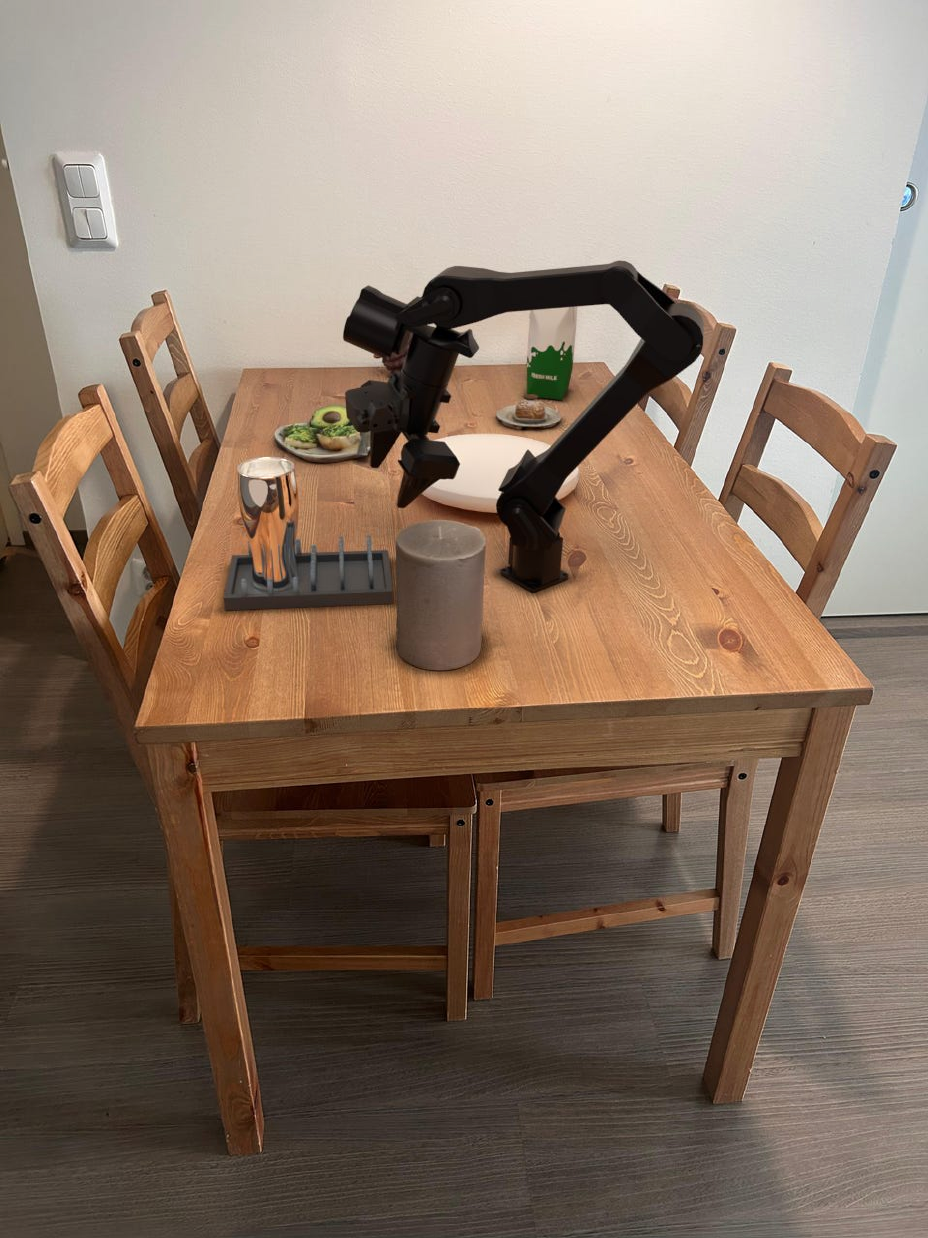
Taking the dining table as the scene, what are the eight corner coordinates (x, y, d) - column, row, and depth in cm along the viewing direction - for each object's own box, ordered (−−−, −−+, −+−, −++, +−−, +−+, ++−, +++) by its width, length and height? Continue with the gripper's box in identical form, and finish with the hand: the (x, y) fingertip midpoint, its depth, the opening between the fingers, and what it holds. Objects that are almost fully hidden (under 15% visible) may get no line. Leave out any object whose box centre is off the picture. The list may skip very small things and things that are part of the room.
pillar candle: (378, 646, 105) (375, 525, 97) (441, 616, 111) (442, 500, 103) (437, 682, 99) (438, 557, 91) (500, 648, 105) (506, 528, 97)
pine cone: (441, 364, 201) (458, 330, 193) (444, 398, 196) (462, 365, 188) (362, 345, 195) (376, 309, 187) (363, 380, 190) (378, 345, 182)
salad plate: (408, 456, 155) (408, 429, 152) (309, 475, 146) (307, 448, 144) (358, 421, 169) (357, 396, 166) (264, 437, 160) (262, 411, 158)
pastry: (558, 434, 165) (560, 409, 163) (491, 429, 167) (492, 404, 164) (563, 412, 176) (565, 388, 173) (500, 408, 177) (501, 384, 175)
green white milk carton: (573, 389, 188) (582, 286, 177) (564, 402, 180) (573, 295, 170) (531, 384, 190) (537, 282, 179) (520, 397, 182) (526, 291, 172)
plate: (429, 421, 155) (588, 436, 151) (427, 459, 158) (583, 475, 154) (383, 465, 130) (572, 485, 126) (382, 509, 133) (567, 530, 129)
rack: (388, 561, 122) (387, 527, 120) (392, 603, 113) (392, 567, 110) (233, 567, 120) (229, 532, 117) (225, 610, 111) (220, 573, 108)
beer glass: (236, 579, 116) (223, 466, 108) (282, 561, 120) (272, 451, 112) (269, 599, 112) (258, 483, 104) (315, 580, 116) (308, 467, 108)
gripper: (336, 329, 111) (304, 443, 120) (394, 407, 99) (354, 527, 108) (417, 343, 117) (381, 450, 126) (481, 417, 105) (437, 530, 114)
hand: (386, 486), depth 118 cm, fingers open, 9 cm apart
